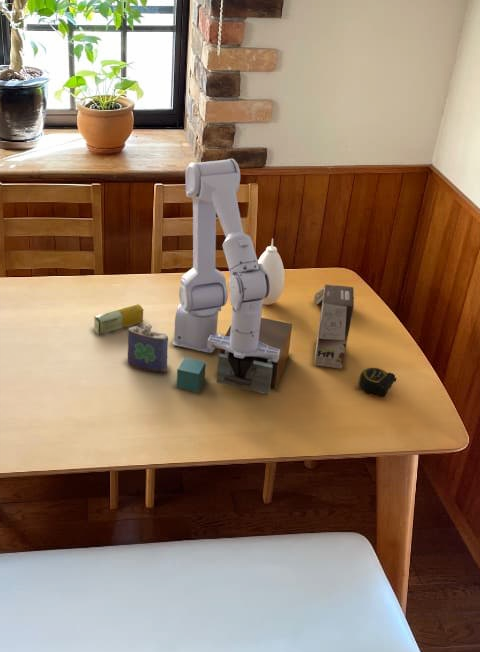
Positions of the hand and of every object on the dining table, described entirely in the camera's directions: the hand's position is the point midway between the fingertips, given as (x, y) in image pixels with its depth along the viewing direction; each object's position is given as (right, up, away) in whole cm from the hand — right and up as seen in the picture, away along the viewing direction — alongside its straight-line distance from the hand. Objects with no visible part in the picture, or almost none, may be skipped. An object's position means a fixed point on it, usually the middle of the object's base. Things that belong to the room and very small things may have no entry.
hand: (240, 381), depth 165 cm
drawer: (+2, 0, +7) cm, 7 cm away
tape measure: (+30, -2, +6) cm, 31 cm away
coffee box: (+22, +5, +17) cm, 28 cm away
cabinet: (+4, +3, +13) cm, 14 cm away
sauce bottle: (+10, +18, +36) cm, 41 cm away
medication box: (-26, +12, +25) cm, 38 cm away
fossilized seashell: (+26, +17, +35) cm, 47 cm away
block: (-10, -1, +7) cm, 12 cm away
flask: (-20, +3, +12) cm, 23 cm away
